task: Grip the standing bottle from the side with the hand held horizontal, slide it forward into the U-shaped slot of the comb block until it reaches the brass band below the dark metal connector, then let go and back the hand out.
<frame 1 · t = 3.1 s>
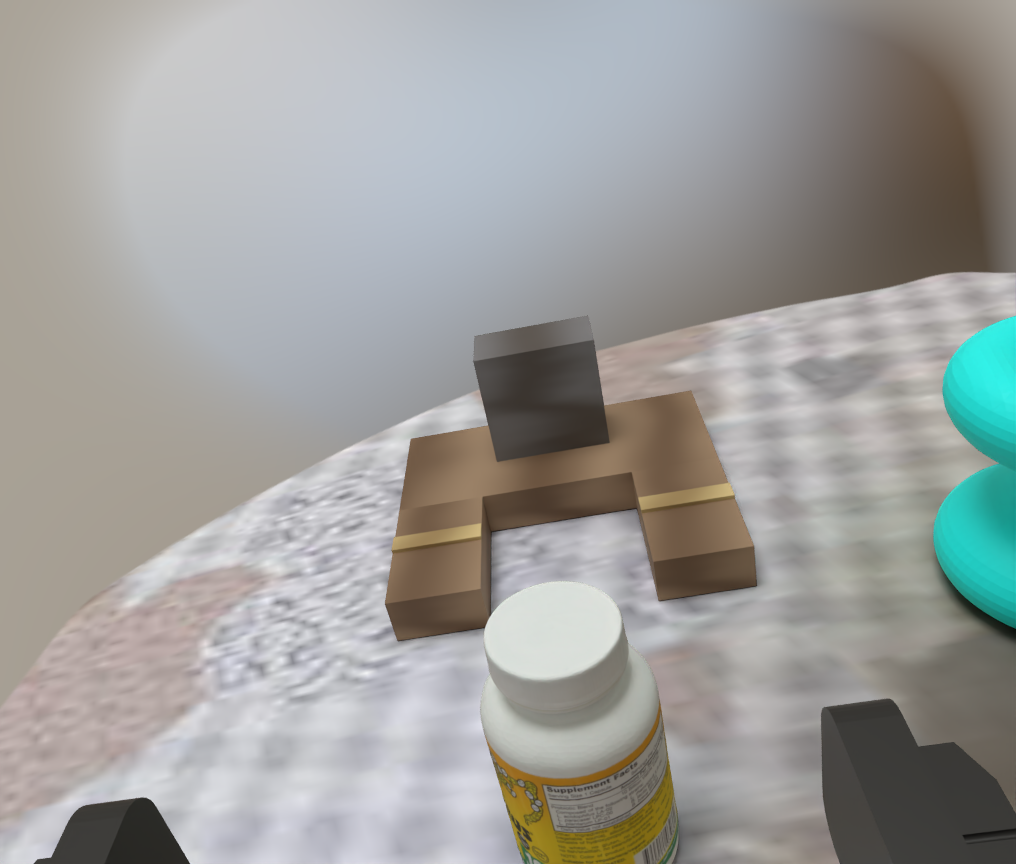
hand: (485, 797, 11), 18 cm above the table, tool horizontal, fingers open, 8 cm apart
comb block: (563, 519, 45), on the table
supplement bottle: (599, 841, 30), on the table
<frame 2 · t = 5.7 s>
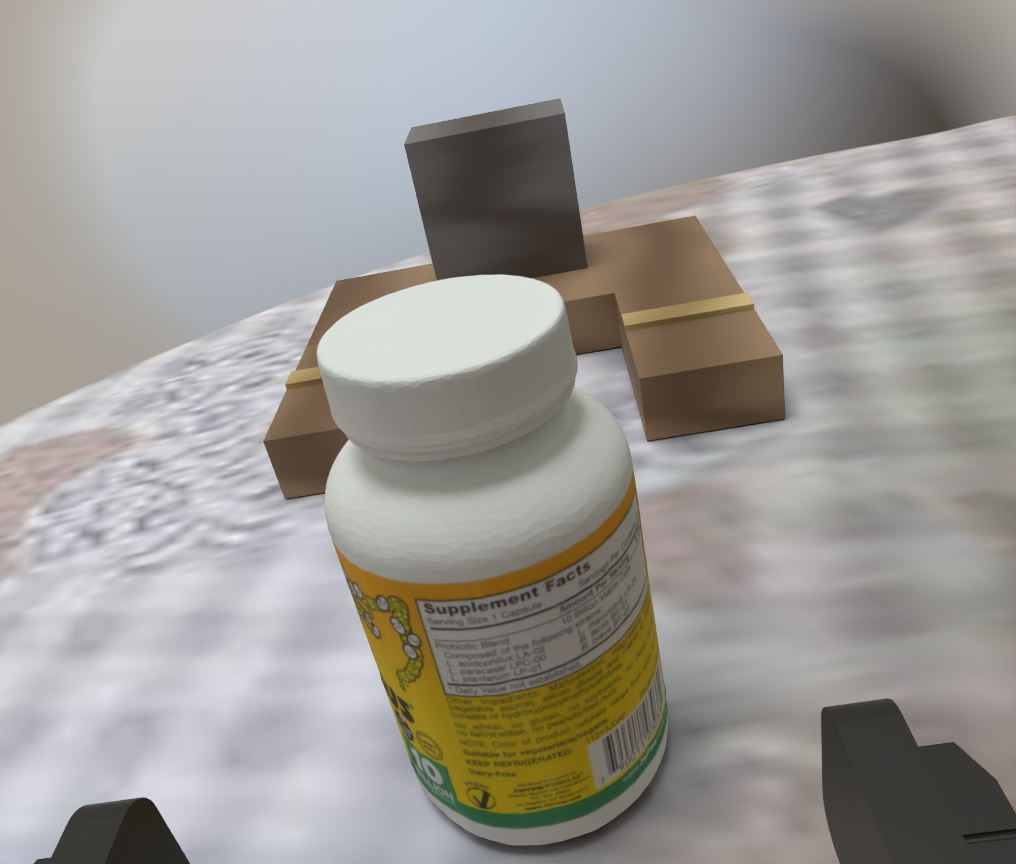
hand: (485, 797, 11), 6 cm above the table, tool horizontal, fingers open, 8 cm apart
comb block: (524, 363, 34), on the table
supplement bottle: (542, 745, 19), on the table
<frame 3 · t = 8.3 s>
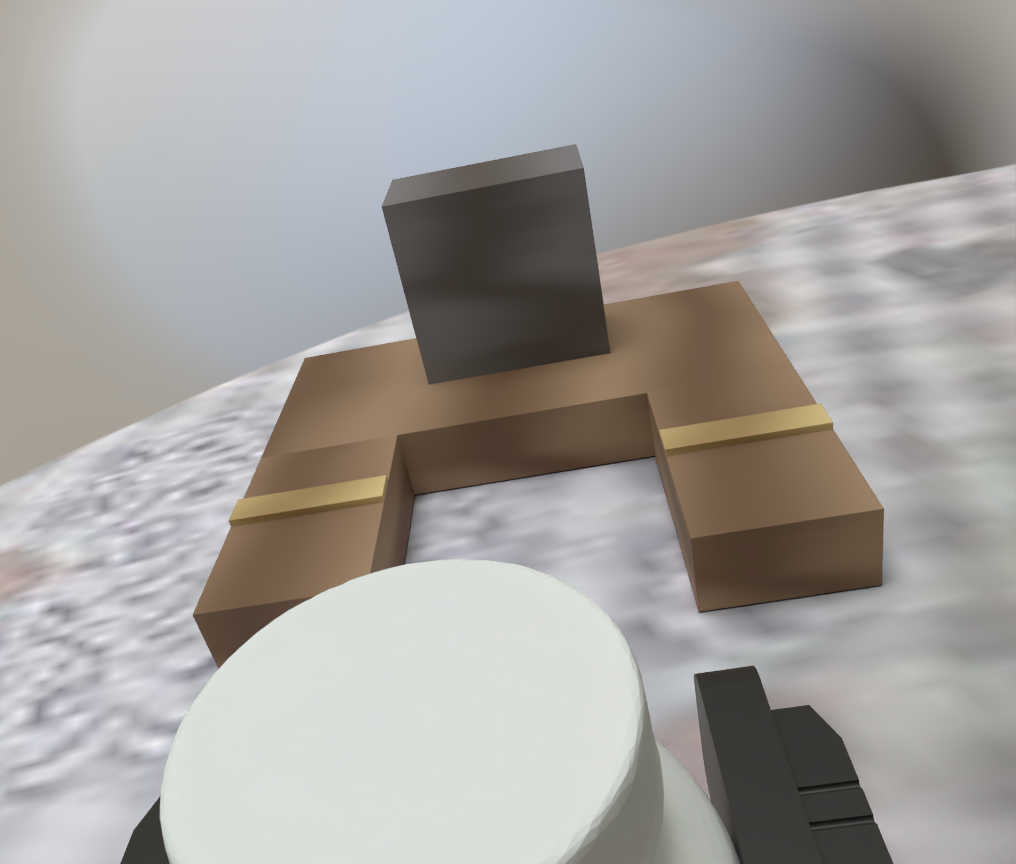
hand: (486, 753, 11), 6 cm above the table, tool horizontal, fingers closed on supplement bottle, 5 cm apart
comb block: (533, 475, 28), on the table
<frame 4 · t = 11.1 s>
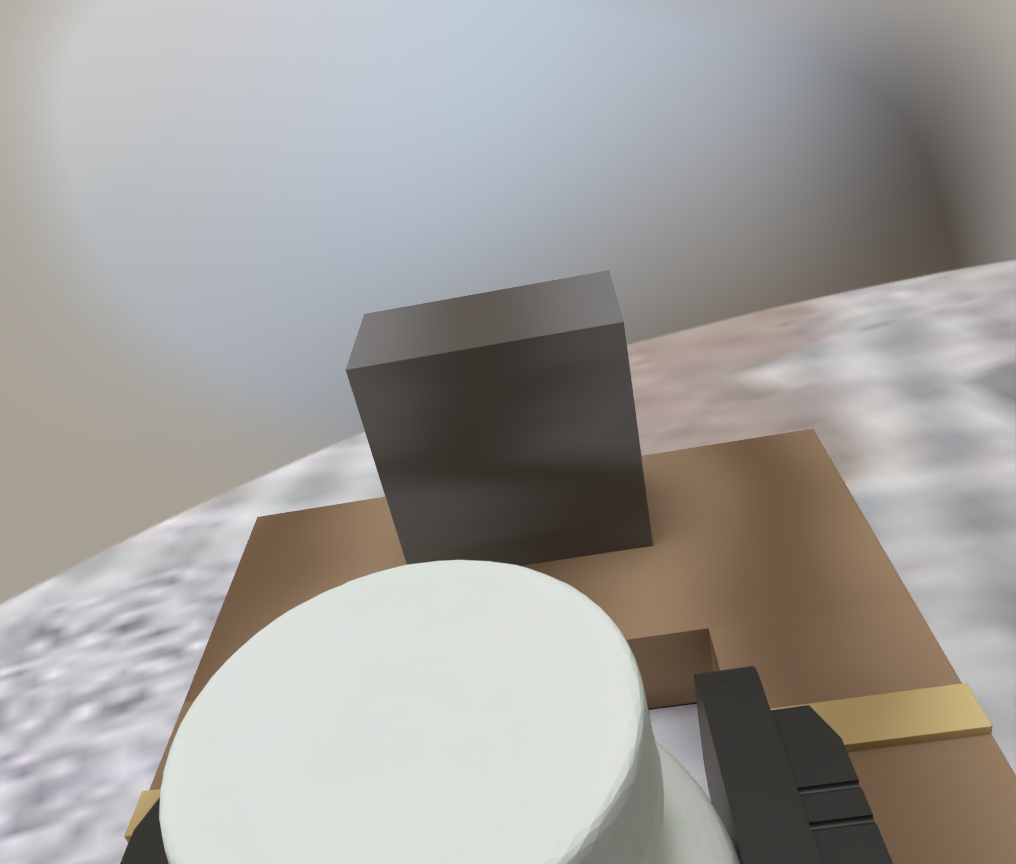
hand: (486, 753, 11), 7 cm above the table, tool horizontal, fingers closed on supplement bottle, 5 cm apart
comb block: (551, 721, 21), on the table
when the fingers open (7 cm above the table, at t = 13.9 s): supplement bottle stays where it is, on the table.
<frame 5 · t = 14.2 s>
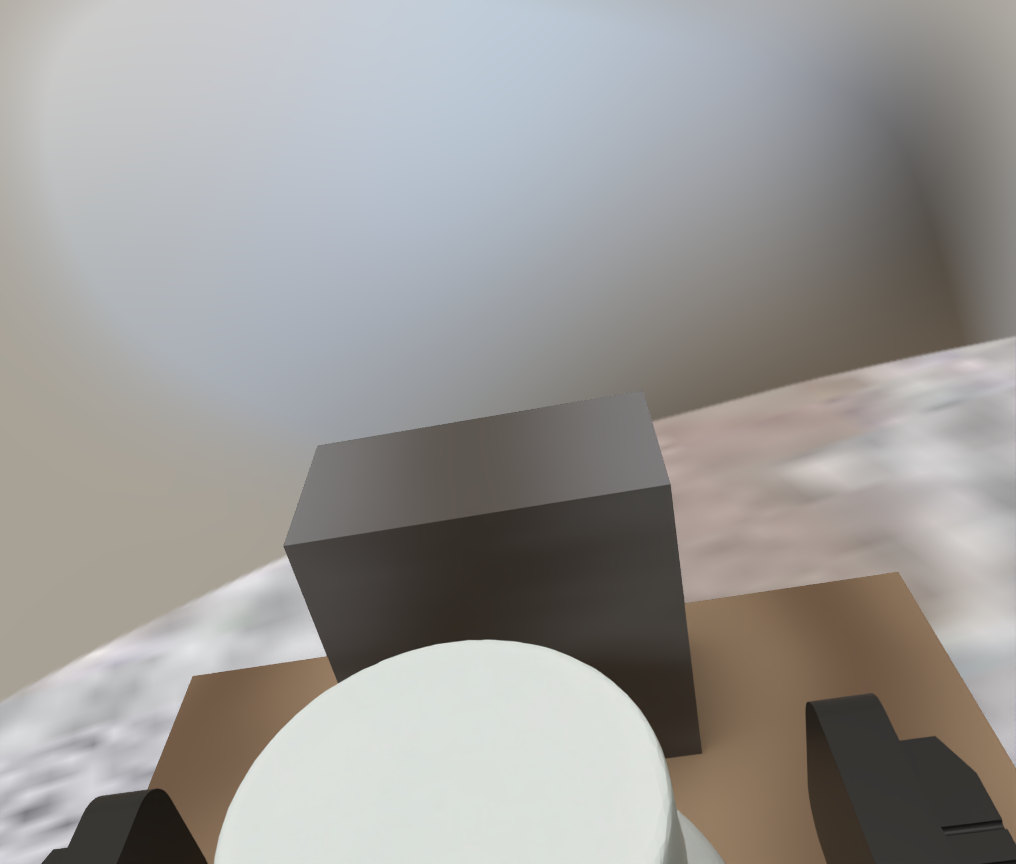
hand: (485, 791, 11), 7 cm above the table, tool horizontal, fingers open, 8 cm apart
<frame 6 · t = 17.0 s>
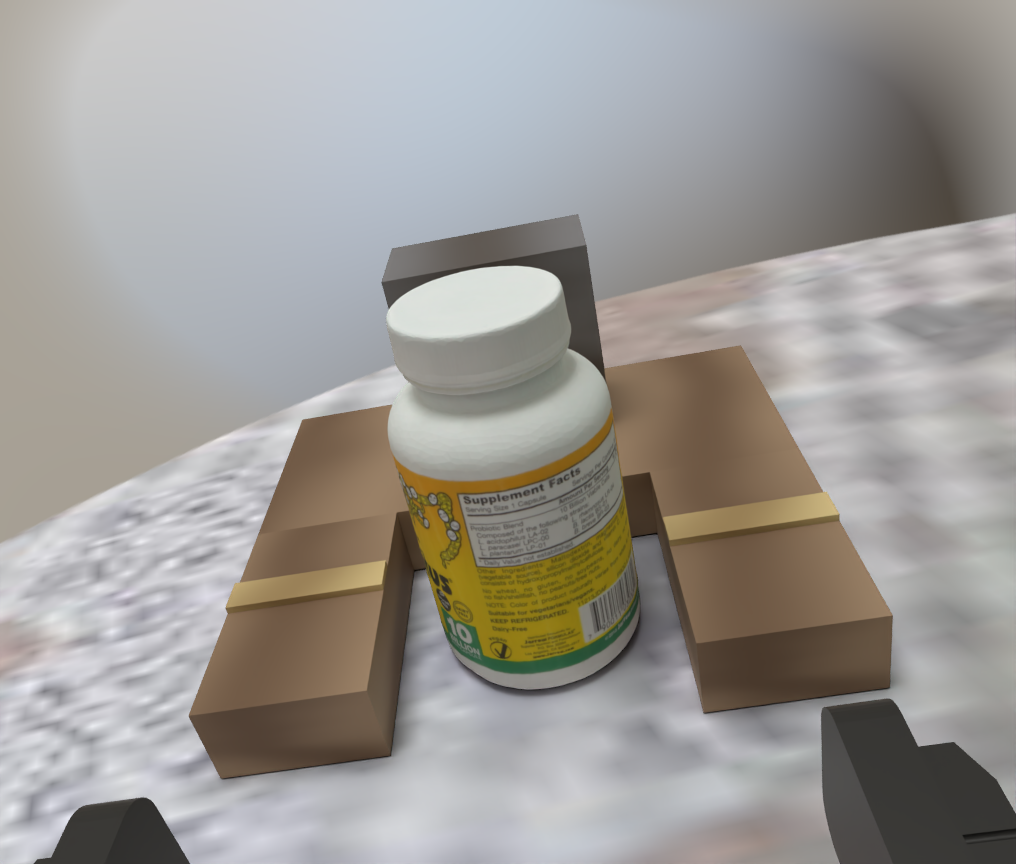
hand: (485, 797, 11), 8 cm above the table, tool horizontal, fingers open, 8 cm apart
comb block: (534, 551, 27), on the table
supplement bottle: (544, 627, 25), on the table
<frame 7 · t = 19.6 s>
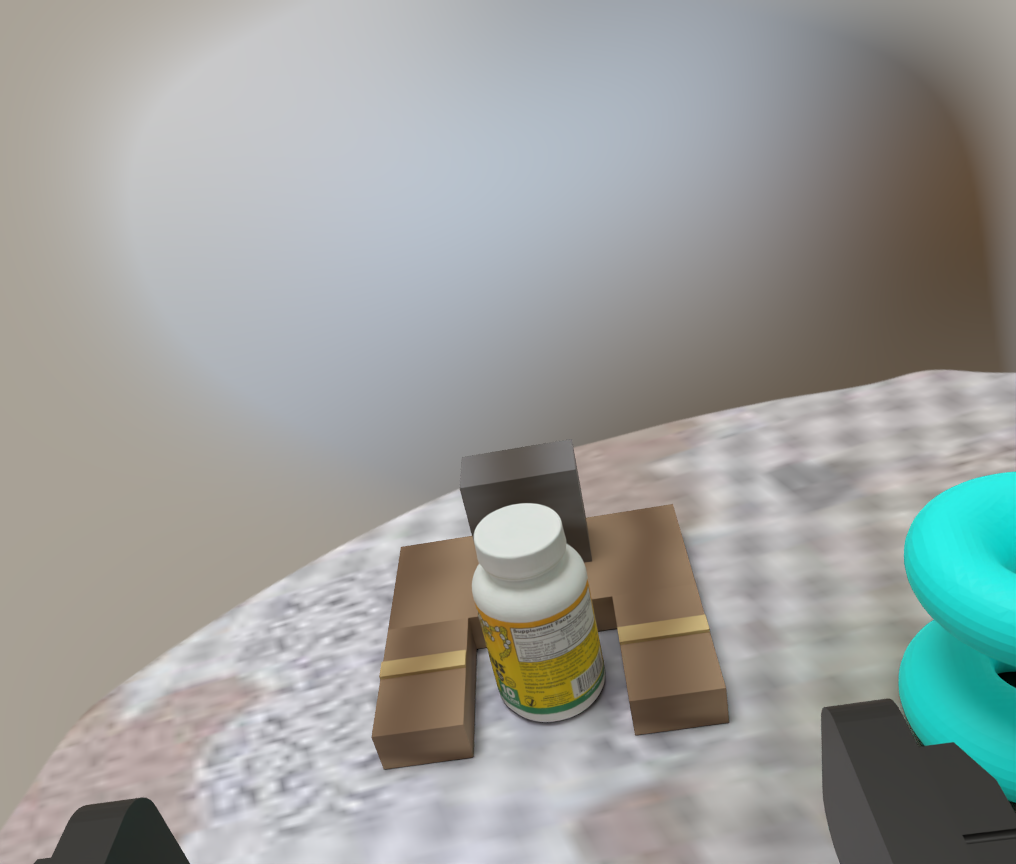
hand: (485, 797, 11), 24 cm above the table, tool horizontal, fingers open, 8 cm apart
comb block: (546, 638, 47), on the table
supplement bottle: (553, 685, 44), on the table
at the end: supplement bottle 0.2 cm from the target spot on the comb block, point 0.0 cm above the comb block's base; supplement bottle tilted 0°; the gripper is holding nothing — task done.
